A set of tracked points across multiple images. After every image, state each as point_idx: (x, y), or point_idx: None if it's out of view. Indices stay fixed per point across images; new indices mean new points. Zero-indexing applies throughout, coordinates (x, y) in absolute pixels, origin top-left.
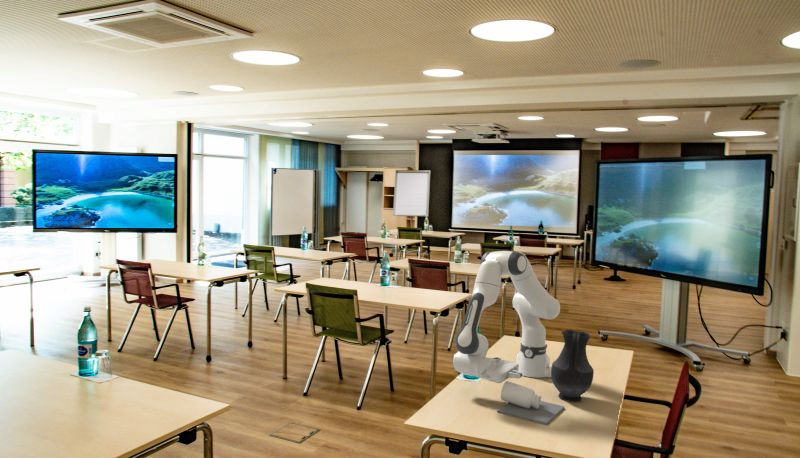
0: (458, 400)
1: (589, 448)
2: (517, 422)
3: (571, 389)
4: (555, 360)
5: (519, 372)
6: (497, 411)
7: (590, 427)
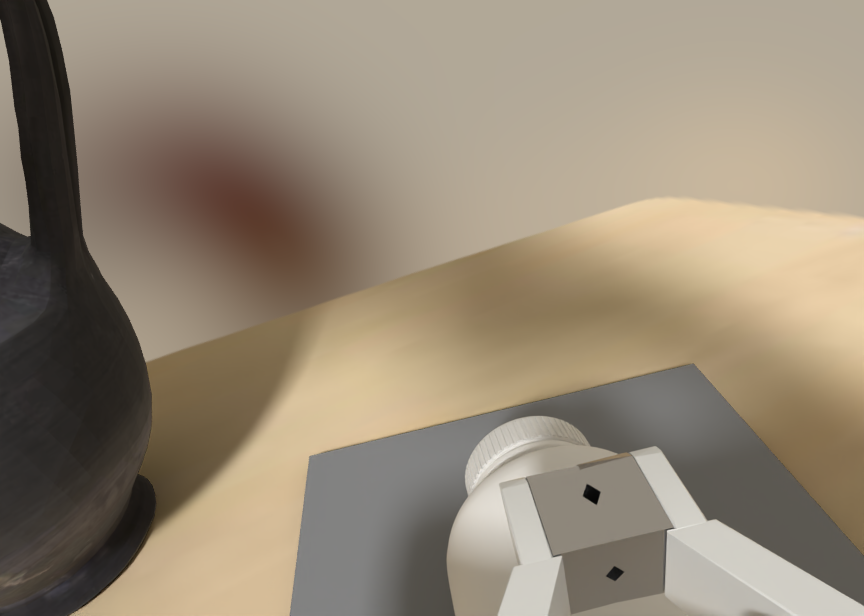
0: None
1: (695, 211)
2: None
3: (151, 408)
4: None
5: (536, 518)
6: None
7: (491, 291)
